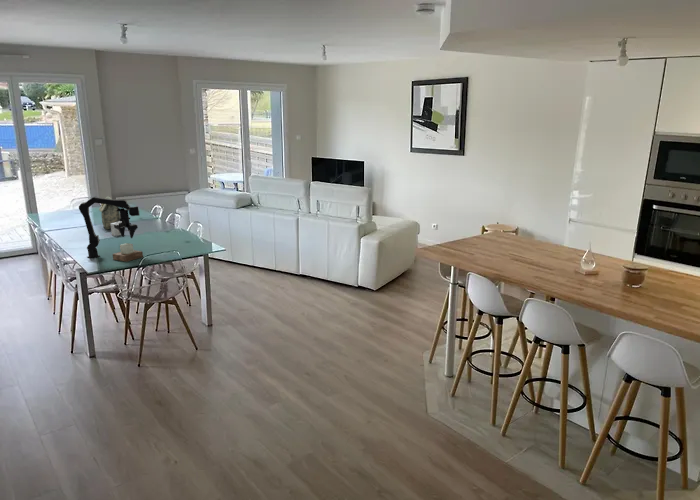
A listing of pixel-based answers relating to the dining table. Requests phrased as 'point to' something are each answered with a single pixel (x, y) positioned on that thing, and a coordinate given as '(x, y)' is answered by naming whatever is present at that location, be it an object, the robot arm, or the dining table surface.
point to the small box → (114, 230)
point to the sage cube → (126, 248)
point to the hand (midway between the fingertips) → (127, 237)
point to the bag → (109, 214)
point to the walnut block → (127, 256)
